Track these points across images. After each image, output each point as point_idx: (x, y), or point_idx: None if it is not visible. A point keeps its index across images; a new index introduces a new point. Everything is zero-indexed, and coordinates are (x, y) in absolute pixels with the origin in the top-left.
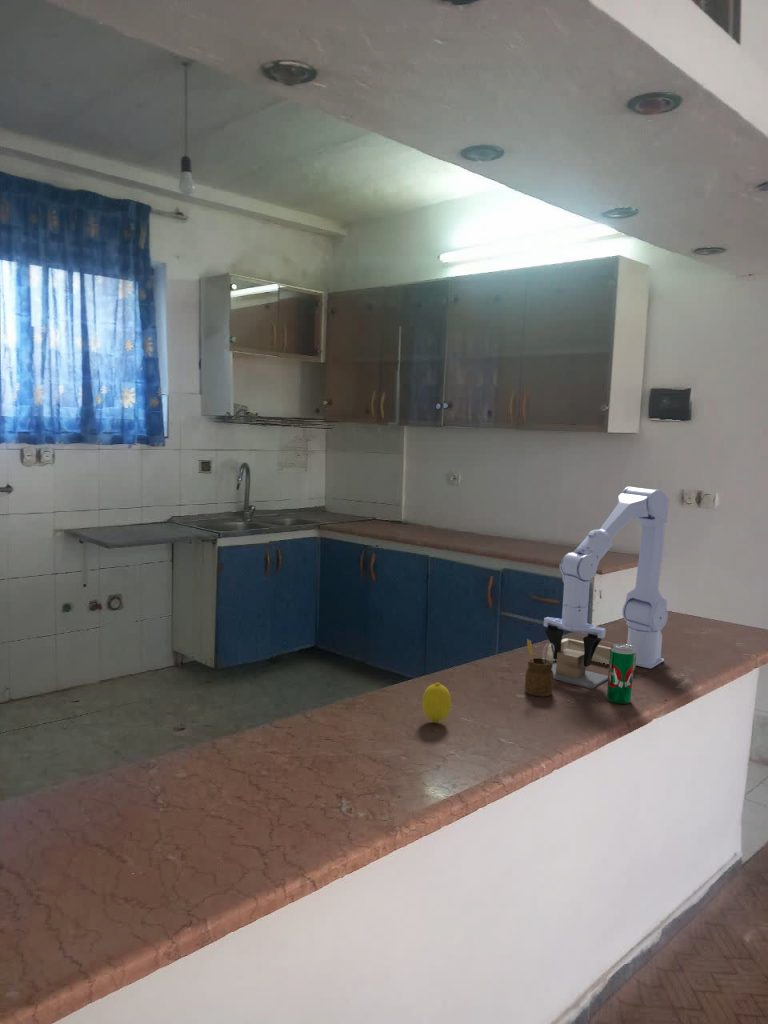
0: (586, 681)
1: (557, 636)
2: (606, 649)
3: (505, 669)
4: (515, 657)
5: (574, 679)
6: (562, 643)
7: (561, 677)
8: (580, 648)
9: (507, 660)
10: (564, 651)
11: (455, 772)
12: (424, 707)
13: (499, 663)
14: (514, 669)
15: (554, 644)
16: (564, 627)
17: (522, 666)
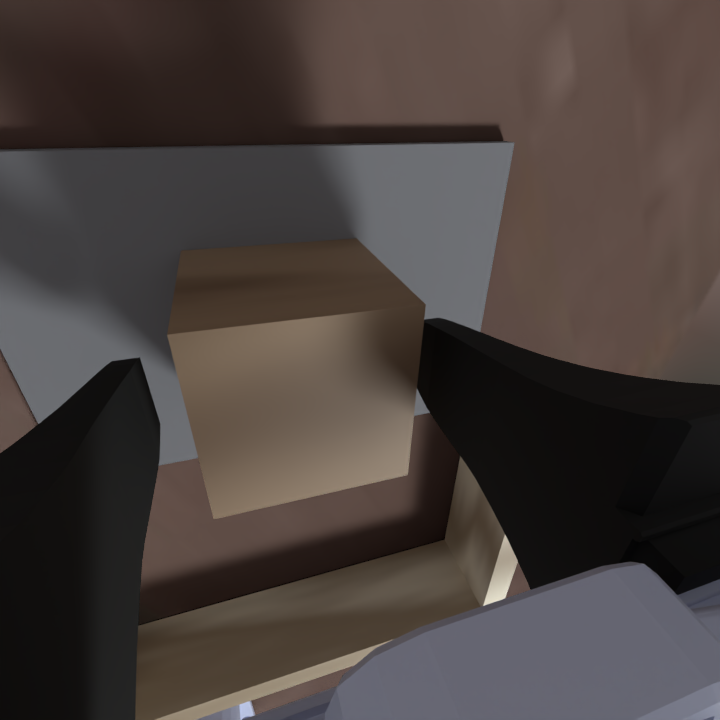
0: (69, 257)
1: (552, 472)
2: (271, 672)
3: (672, 69)
4: (636, 337)
5: (172, 223)
6: (491, 562)
7: (277, 184)
8: (406, 599)
9: (669, 260)
10: (386, 396)
11: None
12: None
13: (710, 168)
14: (618, 126)
15: (512, 368)
16: (646, 627)
17: (582, 232)
